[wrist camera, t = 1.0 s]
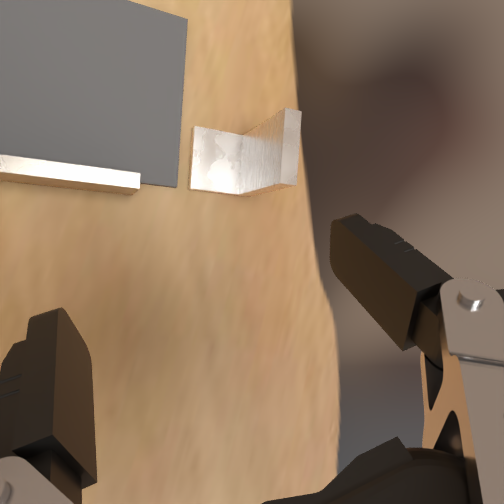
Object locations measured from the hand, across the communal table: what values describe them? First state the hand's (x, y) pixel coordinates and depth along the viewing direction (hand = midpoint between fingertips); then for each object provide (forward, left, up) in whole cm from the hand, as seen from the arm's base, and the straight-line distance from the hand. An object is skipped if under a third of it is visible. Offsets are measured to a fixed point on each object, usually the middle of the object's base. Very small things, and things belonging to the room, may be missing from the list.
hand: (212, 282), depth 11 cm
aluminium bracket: (+9, +9, -26) cm, 29 cm away
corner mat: (-6, +14, -26) cm, 30 cm away
